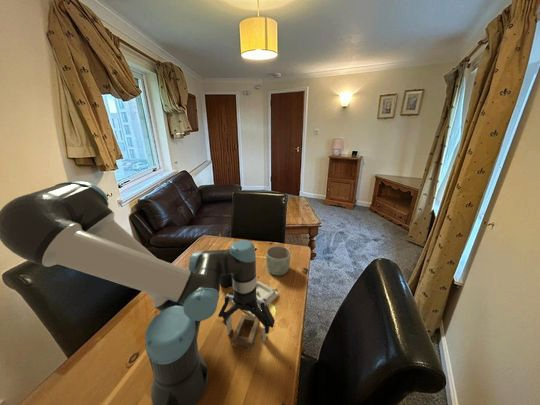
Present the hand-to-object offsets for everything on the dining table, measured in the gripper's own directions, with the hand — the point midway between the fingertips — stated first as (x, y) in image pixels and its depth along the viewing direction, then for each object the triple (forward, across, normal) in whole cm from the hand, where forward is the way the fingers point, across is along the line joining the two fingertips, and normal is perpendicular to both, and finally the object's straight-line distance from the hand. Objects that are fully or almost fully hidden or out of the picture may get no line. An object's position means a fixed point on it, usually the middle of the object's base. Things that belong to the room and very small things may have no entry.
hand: (246, 334), depth 77 cm
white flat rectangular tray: (0, +2, -17) cm, 18 cm away
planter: (0, -4, -39) cm, 39 cm away
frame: (0, 0, 0) cm, 0 cm away
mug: (0, +16, -22) cm, 27 cm away
